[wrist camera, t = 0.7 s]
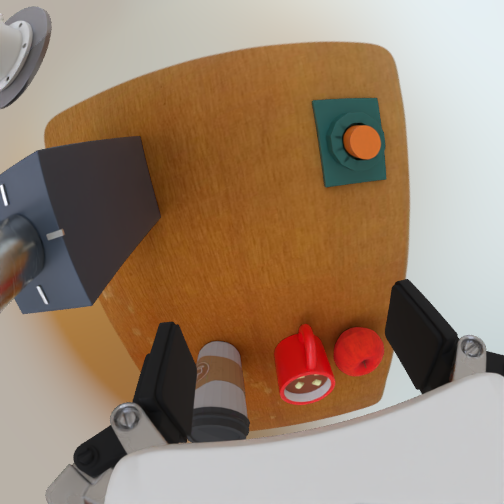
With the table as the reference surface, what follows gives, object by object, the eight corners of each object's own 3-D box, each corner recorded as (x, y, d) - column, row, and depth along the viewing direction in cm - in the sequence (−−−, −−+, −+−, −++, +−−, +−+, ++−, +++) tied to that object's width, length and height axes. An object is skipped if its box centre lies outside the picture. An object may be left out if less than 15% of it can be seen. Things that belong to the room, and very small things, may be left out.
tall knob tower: (82, 157, 27) (-29, 196, 11) (142, 135, 27) (38, 148, 10) (104, 231, 31) (19, 315, 15) (163, 216, 31) (95, 307, 15)
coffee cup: (215, 326, 38) (208, 414, 24) (257, 353, 41) (265, 436, 27) (182, 354, 40) (167, 435, 27) (223, 377, 43) (221, 455, 29)
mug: (327, 308, 38) (343, 345, 30) (320, 364, 43) (331, 400, 35) (272, 314, 38) (278, 354, 30) (274, 370, 43) (279, 408, 35)
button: (340, 126, 26) (348, 126, 24) (370, 124, 26) (378, 124, 24) (345, 158, 27) (352, 161, 25) (373, 156, 27) (382, 158, 25)
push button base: (311, 101, 26) (317, 98, 24) (374, 98, 26) (384, 96, 24) (324, 186, 30) (330, 190, 28) (383, 178, 30) (393, 182, 28)
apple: (382, 324, 40) (401, 355, 33) (352, 357, 43) (366, 389, 36) (348, 309, 38) (366, 342, 31) (317, 345, 41) (329, 380, 34)
